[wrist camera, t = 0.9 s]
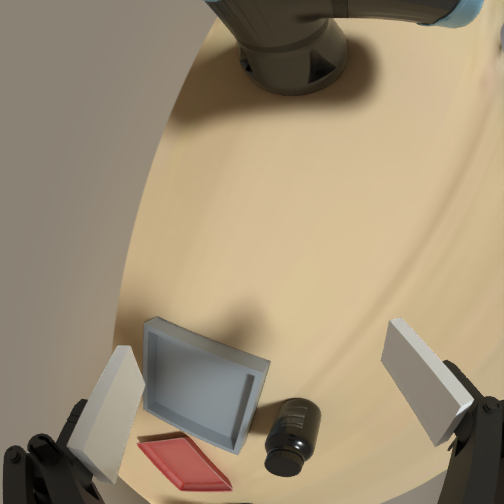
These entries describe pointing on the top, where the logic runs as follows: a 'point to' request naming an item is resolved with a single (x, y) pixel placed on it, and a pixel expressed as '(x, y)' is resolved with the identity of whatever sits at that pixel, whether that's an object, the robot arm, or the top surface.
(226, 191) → the top surface
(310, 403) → the supplement bottle
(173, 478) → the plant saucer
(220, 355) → the tray
